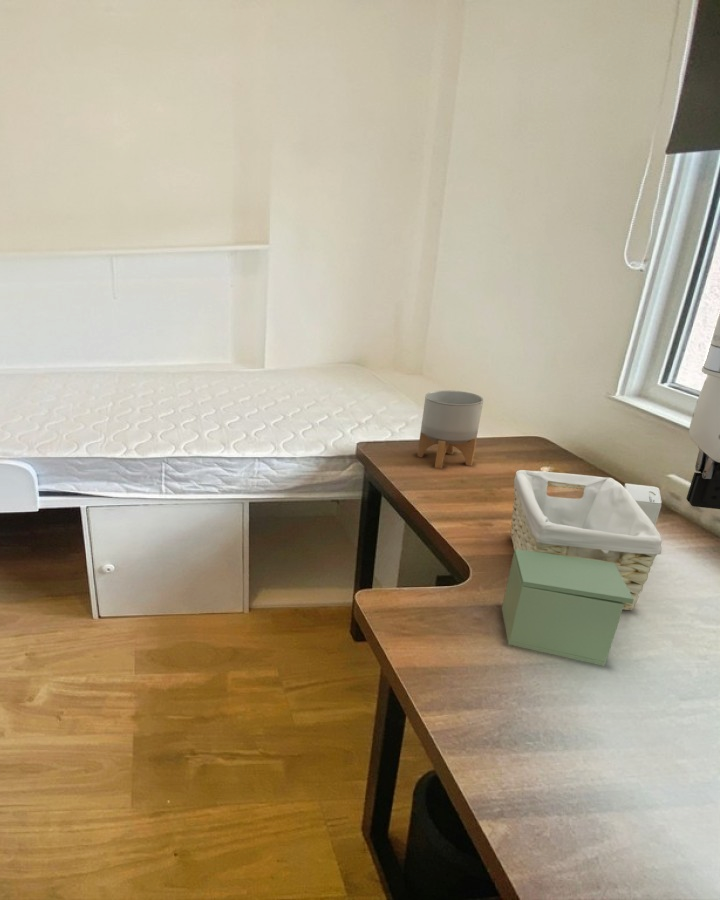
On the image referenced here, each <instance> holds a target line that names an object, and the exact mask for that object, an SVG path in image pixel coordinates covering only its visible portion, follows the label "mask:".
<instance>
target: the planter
mask: <svg viewBox="0 0 720 900" xmlns="http://www.w3.org/2000/svg"><path fill="white" fill-rule="evenodd" d="M483 404H484V398H483V396H481V395H478V394H476V393H473V392H467V391H462V390H434V391H430V392H427V393H426V394H425V396H424V403H423V412H422V419H421V426H420V434H419V441H418V448H417V456H416V457H419V458H423V457H424V456H425V453H426V451H427V449H428V448H430V447H432V446H435V445H437V449H436V455H435V463H434V468H435V469H438V470H439V469H440V470H441V469H443V465H444V460H445V456H446V454H448V455H453V454H454V450H455V448H456V449H457V450H459V452H460V453H461V454H462V455H463V457H464V460H465V466H468V467H472V465H473V462H474V456H475V452H476V446H477V440H478V433H479V428H480V421H481V417H482V409H483V406H484V405H483Z"/></svg>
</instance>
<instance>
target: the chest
mask: <svg viewBox="0 0 720 900" xmlns="http://www.w3.org/2000/svg"><path fill="white" fill-rule="evenodd" d="M623 607H624V604H623V602H618V601H612V600H606V599H600V598H593V597H587V596H581V595H575V594H569V593H563V592H557V591H551V590H545V589H539V588H533V587H527V586H522V583H521V579H520V575H519V570H518V566H517V562H516V558H515V554H514V553H513V556H512V559H511V563H510V569H509V573H508V577H507V583H506V587H505V592H504V596H503V601H502V605H501V612H502V617H503V622H504V627H505V634H506V639H507V644H508V645H509V646H513V647H519V648H522V649H528V650H532V651H536V652H541V653H545V654H550V655H554V656H558V657H563V658H568V659H572V660H577V661H582V662H586V663H589V664H595V665H599V666H603V667H604V666H606V664H607V660H608V657H609V654H610V650H611V647H612V644H613V641H614V638H615V634H616V631H617V628H618V626H619V622H620V620H621V616H622V613H623V610H624V609H623Z"/></svg>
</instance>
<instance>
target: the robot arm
mask: <svg viewBox="0 0 720 900" xmlns="http://www.w3.org/2000/svg"><path fill="white" fill-rule="evenodd" d="M701 373H703V374H705V375H706V378H705V380H704V382H703V385H702V388H701V389H700V393H699V396H698V398H697V401H696V404H695V407H694V410H693V413H692V415H691V416H692V417H691V420H690V423H689V428H688V436H689V439H690V440H691V441H692V442H693V443H694V444H695V446H697V448H698V453H697V457H696V462H695V465H694V469H695V472H694V473H693V476H692V479H691V482H690V485H689V487H688V491H687V495H686V501H687V502H688V503H689V505H690V506H692V507H694V508H704V509H705V508H706V509H715V510H720V309H719V311H718V314H717V317H716V320H715V324H714V327H713V330H712V334H711V338H710V341H709V344H708V347H707V351H706V354H705V357H704V361H703V363H702V368H701Z"/></svg>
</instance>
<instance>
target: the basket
mask: <svg viewBox="0 0 720 900" xmlns="http://www.w3.org/2000/svg"><path fill="white" fill-rule="evenodd" d="M513 484H514V486H513V490H514V491H513V495H514V499H513V505H512V514H511V522H510V523H511V525H510V528H511V529H510V537H511V540H512V541H511V542H512V545H513V552H514V551H515V549H519V550H526V551H533V552H540V553H548V554H555V555H562V556H569V557H576V558H583V559H590V560H598V561H605V562H612V563H615V565H616V567H617V569H618V570H619V572H620V574H621V576H622V578H623V580H624V582H625V584H626V586H627V588H628V589H629V591H630V593H631V595H632V597H633V599H634V600H633V604H630V603H624V602H623V604H624V607H623V610H624V611H625V610H626V611H631V610H634V608H635V605H636V604H637V601H638V599H639V595H640V593H641V592H642V591H643V589H644V584H645V583H646V582H647V580H648V577H649V573H650V571H651V567H652V566H653V563H654V560H655V559H656V557H657V556H658V555H661V554H662V550H663V546H662V543H663V538H662V536H661V534H660V532H659V530H658V529H657V527H656V525H655V526H654V524H653V523H652V522H651V520H650V519H649V517H648V516H647V515H646V514H645V513H644V511H643V510H642V509H641V508H640V506H639V505H638V504H637V502H636V501H635V500H634V498H633V497H632V495H631V494H630V493H629V492H628V491H627V490H626V489H625V488H624V486H623V485H622V484H621V483H620V482H619V481H617V480H615V479H614V478H612V477H604V476H595V475H588V474H587V475H586V474H576V473H566V472H555V471H554V472H552V471H543V470H542V471H541V470H526V469H519V470H517V471H516V472H515V477H514V479H513ZM549 487H555V488H558V487H560V488H568V489H577V490H579V489H580V490H581V489H582V490H583V492H582V497H581V498H574V497H572V498H571V497H560V496H552V495H551V496H550V495H548V488H549Z"/></svg>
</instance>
